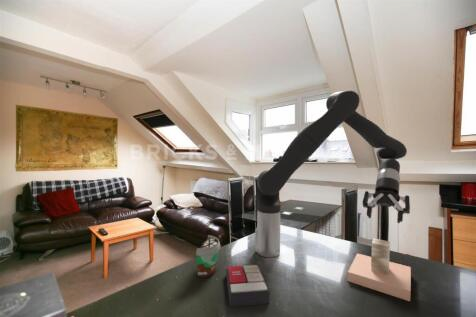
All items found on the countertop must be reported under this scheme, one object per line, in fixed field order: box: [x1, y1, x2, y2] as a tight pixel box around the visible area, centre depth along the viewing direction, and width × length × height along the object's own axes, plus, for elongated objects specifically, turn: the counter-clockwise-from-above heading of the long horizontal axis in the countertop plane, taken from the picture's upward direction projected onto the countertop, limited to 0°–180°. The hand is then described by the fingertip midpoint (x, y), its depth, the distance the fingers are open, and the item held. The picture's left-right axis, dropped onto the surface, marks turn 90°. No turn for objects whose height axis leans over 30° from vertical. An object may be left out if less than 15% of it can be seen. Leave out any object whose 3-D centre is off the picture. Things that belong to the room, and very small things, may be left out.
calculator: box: [225, 264, 270, 307], centre depth 69 cm, size 11×4×15 cm
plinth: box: [347, 253, 412, 302], centre depth 74 cm, size 16×16×3 cm
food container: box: [195, 234, 221, 278], centre depth 79 cm, size 12×6×10 cm, turn 168°
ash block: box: [370, 238, 391, 275], centre depth 74 cm, size 5×5×9 cm
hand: (383, 219), depth 79 cm, fingers open, 8 cm apart
